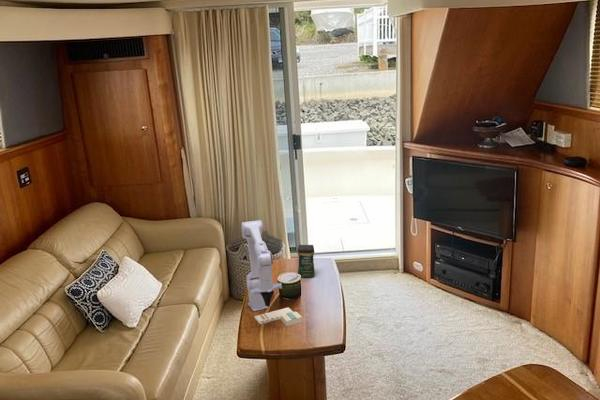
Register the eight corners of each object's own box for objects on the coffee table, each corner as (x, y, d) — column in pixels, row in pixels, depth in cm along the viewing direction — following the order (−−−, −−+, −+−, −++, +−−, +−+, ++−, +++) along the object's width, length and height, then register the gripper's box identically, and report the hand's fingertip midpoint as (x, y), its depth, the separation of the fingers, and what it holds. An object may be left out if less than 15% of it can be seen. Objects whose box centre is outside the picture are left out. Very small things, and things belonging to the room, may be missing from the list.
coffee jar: (297, 278, 278) (296, 247, 273) (298, 272, 285) (297, 242, 280) (314, 278, 277) (313, 247, 272) (315, 272, 284) (314, 242, 280)
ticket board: (254, 318, 236) (254, 315, 235) (288, 309, 243) (288, 306, 243) (260, 324, 229) (260, 322, 229) (294, 315, 237) (294, 312, 237)
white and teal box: (281, 321, 233) (281, 314, 232) (296, 317, 236) (296, 310, 235) (286, 326, 227) (286, 320, 226) (302, 322, 231) (301, 315, 230)
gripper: (254, 285, 215) (255, 313, 219) (284, 278, 222) (285, 305, 225) (248, 279, 221) (250, 306, 225) (277, 272, 228) (278, 299, 231)
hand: (267, 305), depth 226 cm, fingers closed
